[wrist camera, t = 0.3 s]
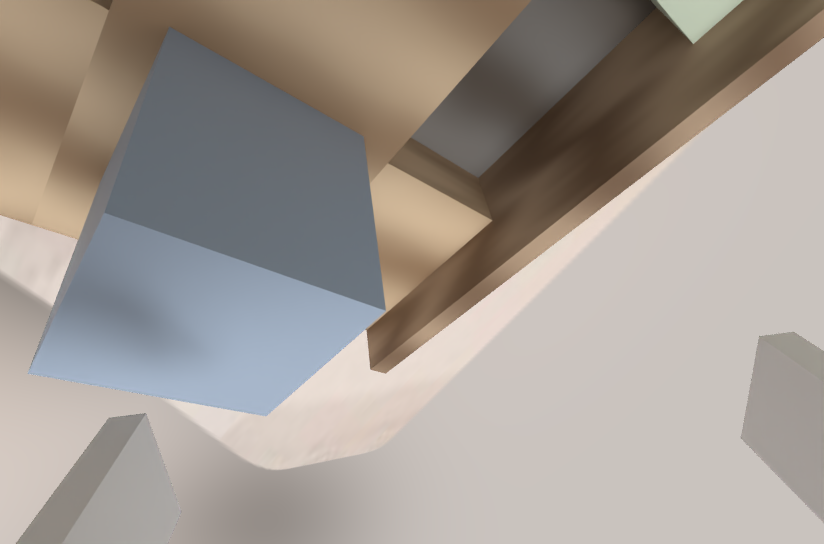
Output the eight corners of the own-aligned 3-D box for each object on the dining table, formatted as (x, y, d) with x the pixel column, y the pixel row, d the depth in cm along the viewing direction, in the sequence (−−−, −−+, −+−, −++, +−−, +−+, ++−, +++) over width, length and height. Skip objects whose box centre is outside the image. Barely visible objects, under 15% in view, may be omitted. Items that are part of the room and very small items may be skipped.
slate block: (273, 247, 23) (265, 416, 18) (100, 182, 19) (27, 373, 14) (363, 136, 19) (386, 311, 14) (169, 26, 15) (104, 213, 10)
